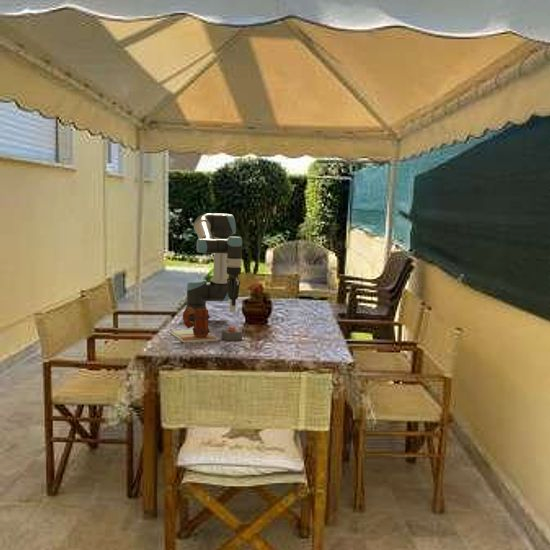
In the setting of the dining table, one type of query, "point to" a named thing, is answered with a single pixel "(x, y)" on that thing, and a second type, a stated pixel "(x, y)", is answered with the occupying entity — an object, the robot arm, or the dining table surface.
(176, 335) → the picture board
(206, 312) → the mug
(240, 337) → the button base
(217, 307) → the dining table surface
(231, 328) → the button
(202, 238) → the robot arm
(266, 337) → the dining table surface
